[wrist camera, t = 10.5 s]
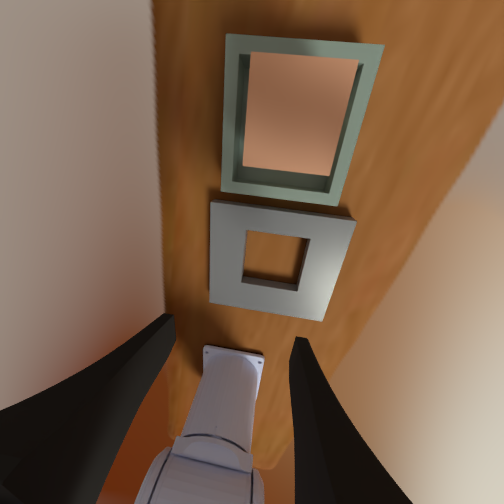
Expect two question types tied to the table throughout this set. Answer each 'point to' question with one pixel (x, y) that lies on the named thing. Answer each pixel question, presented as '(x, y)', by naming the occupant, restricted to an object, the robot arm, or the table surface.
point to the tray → (235, 109)
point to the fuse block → (296, 111)
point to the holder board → (272, 292)
